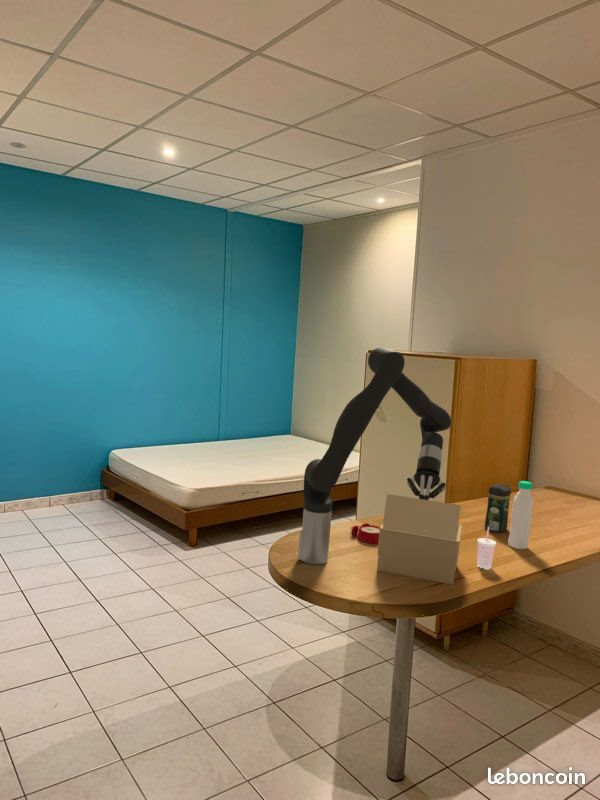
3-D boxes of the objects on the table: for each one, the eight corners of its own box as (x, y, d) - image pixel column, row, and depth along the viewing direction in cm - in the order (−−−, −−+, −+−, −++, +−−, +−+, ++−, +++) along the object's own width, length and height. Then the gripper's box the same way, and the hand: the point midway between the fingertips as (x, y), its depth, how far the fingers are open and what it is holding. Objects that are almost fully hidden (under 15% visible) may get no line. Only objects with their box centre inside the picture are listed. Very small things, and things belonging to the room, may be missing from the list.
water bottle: (531, 550, 228) (539, 484, 225) (513, 549, 227) (521, 484, 224) (521, 543, 235) (529, 479, 232) (504, 543, 233) (512, 479, 230)
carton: (375, 570, 197) (379, 528, 195) (385, 551, 214) (388, 512, 213) (454, 585, 190) (459, 541, 188) (457, 564, 207) (462, 524, 206)
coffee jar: (490, 524, 256) (495, 481, 254) (509, 529, 251) (514, 485, 249) (481, 528, 249) (486, 484, 247) (500, 534, 244) (505, 488, 242)
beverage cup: (470, 564, 208) (475, 525, 206) (482, 562, 212) (486, 523, 210) (485, 571, 203) (490, 530, 202) (497, 568, 207) (501, 528, 205)
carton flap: (382, 528, 195) (382, 528, 195) (387, 494, 197) (387, 493, 196) (456, 541, 188) (456, 541, 188) (460, 505, 190) (460, 505, 190)
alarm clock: (374, 537, 218) (346, 517, 228) (370, 553, 219) (342, 531, 230) (393, 533, 224) (365, 513, 235) (389, 547, 226) (361, 527, 237)
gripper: (409, 452, 202) (401, 498, 192) (450, 458, 199) (444, 504, 189) (409, 465, 208) (401, 509, 198) (449, 470, 205) (443, 516, 195)
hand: (422, 507), depth 194 cm, fingers closed
